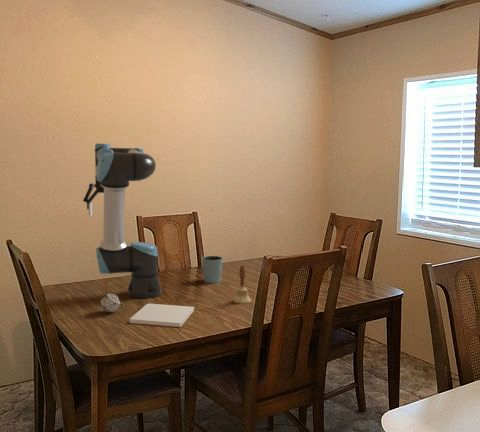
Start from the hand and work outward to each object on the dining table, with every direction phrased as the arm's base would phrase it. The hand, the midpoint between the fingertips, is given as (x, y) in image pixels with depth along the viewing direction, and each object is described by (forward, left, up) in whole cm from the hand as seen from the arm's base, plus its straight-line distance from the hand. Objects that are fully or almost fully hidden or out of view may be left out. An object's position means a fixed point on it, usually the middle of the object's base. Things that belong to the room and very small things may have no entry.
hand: (103, 216), depth 258 cm
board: (-50, +55, -31) cm, 80 cm away
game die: (-28, +55, -31) cm, 69 cm away
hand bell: (-77, +27, -31) cm, 87 cm away
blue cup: (-57, -2, -31) cm, 64 cm away
